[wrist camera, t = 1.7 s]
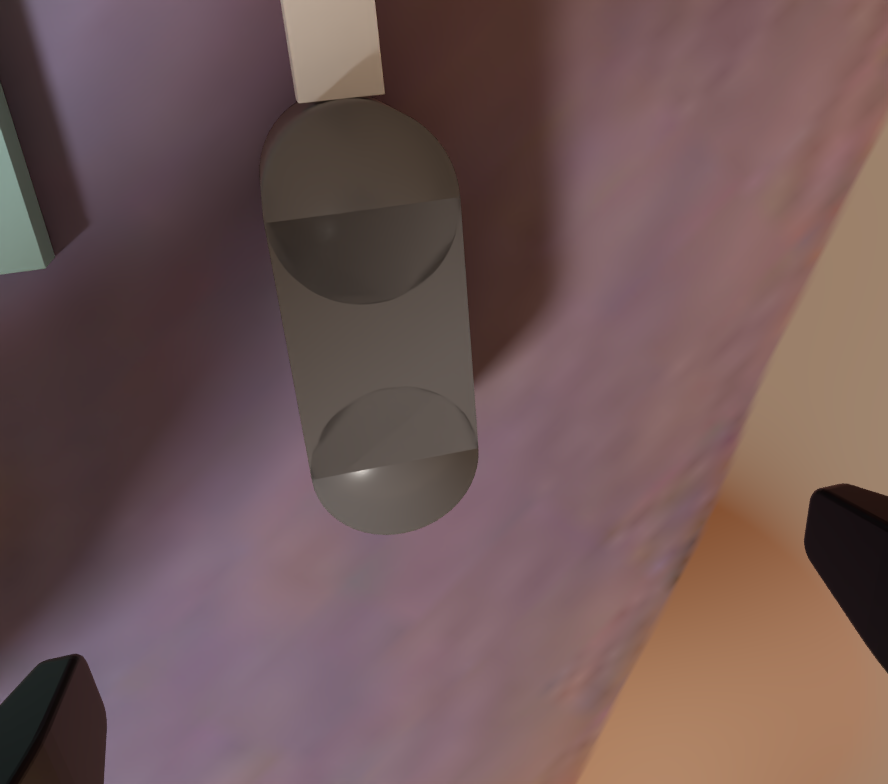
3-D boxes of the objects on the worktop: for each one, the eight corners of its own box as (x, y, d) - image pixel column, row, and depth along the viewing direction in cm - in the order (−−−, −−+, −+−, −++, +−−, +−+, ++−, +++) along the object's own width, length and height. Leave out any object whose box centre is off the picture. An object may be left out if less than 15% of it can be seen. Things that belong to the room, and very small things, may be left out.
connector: (446, 441, 23) (483, 516, 19) (312, 467, 22) (324, 549, 19) (402, -33, 17) (442, -49, 14) (223, -18, 17) (217, -30, 13)
